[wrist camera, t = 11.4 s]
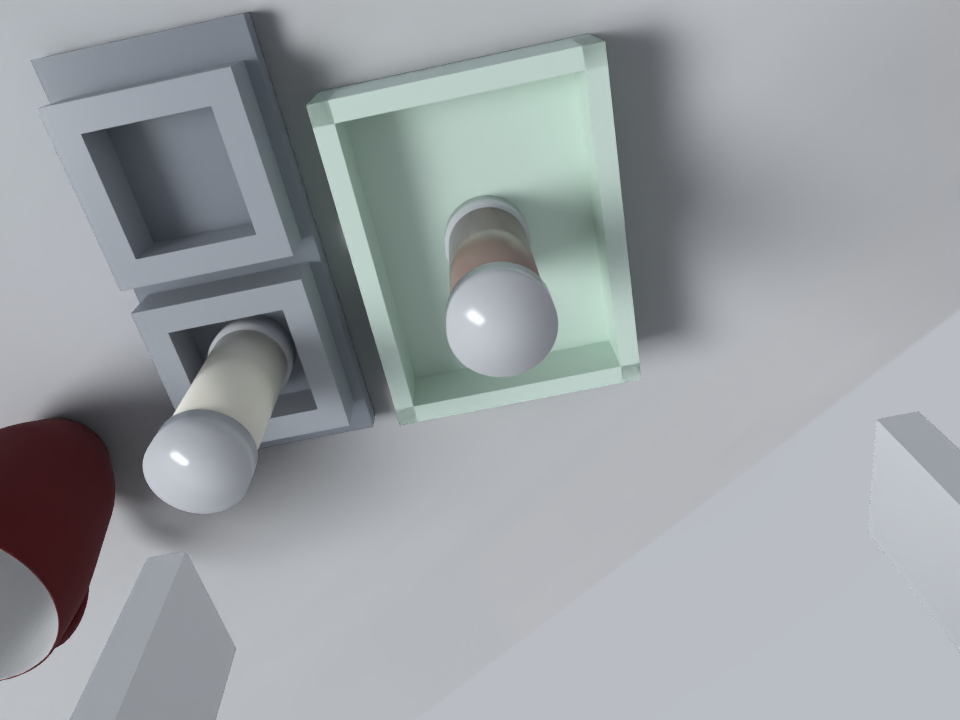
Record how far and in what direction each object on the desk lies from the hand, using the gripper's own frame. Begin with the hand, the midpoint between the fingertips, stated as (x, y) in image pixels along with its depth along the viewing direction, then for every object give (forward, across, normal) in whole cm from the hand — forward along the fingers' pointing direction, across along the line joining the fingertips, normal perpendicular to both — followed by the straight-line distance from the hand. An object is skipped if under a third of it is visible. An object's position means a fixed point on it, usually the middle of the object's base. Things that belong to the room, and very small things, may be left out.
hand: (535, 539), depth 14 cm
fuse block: (+20, -11, +1) cm, 23 cm away
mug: (+20, -22, -8) cm, 31 cm away
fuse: (+19, -11, -3) cm, 22 cm away
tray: (+20, 0, 0) cm, 20 cm away
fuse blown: (+19, 0, 0) cm, 19 cm away
